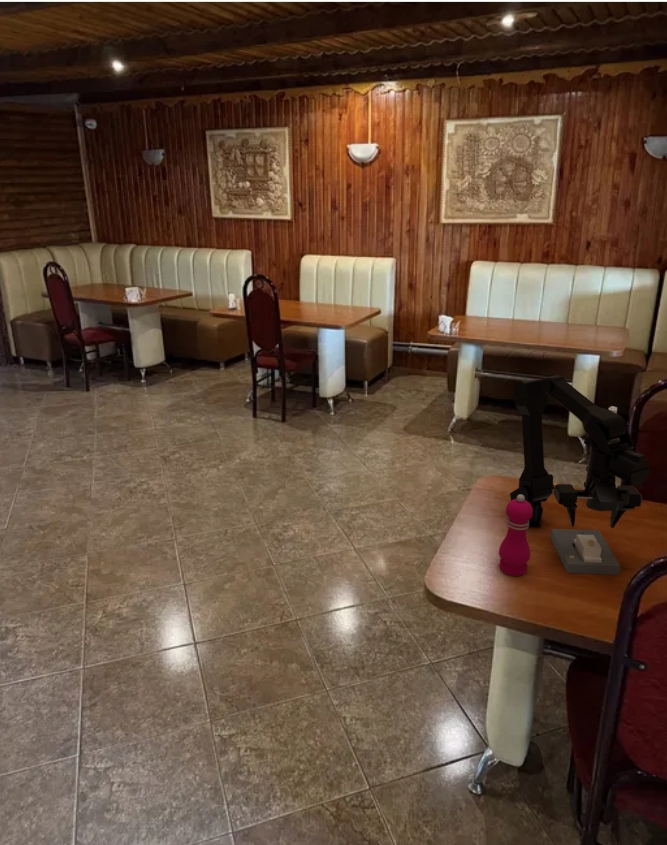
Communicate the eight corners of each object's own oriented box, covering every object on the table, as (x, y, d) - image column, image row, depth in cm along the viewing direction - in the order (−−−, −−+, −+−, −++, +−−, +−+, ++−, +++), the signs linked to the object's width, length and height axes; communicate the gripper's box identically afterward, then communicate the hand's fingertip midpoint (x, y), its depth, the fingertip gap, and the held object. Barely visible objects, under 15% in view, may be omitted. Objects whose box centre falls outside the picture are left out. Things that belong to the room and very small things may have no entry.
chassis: (567, 572, 150) (568, 563, 149) (550, 537, 165) (551, 528, 164) (618, 574, 149) (620, 565, 148) (597, 538, 164) (598, 529, 163)
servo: (583, 571, 150) (586, 548, 148) (571, 549, 159) (575, 527, 157) (600, 571, 150) (604, 548, 148) (588, 550, 159) (591, 528, 156)
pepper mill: (491, 564, 153) (498, 491, 146) (515, 557, 156) (523, 485, 149) (510, 580, 147) (518, 504, 140) (534, 573, 150) (544, 498, 142)
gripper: (569, 482, 138) (561, 543, 144) (657, 484, 137) (645, 546, 143) (556, 461, 149) (549, 519, 154) (638, 462, 147) (627, 521, 153)
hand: (591, 526), depth 151 cm, fingers open, 9 cm apart
